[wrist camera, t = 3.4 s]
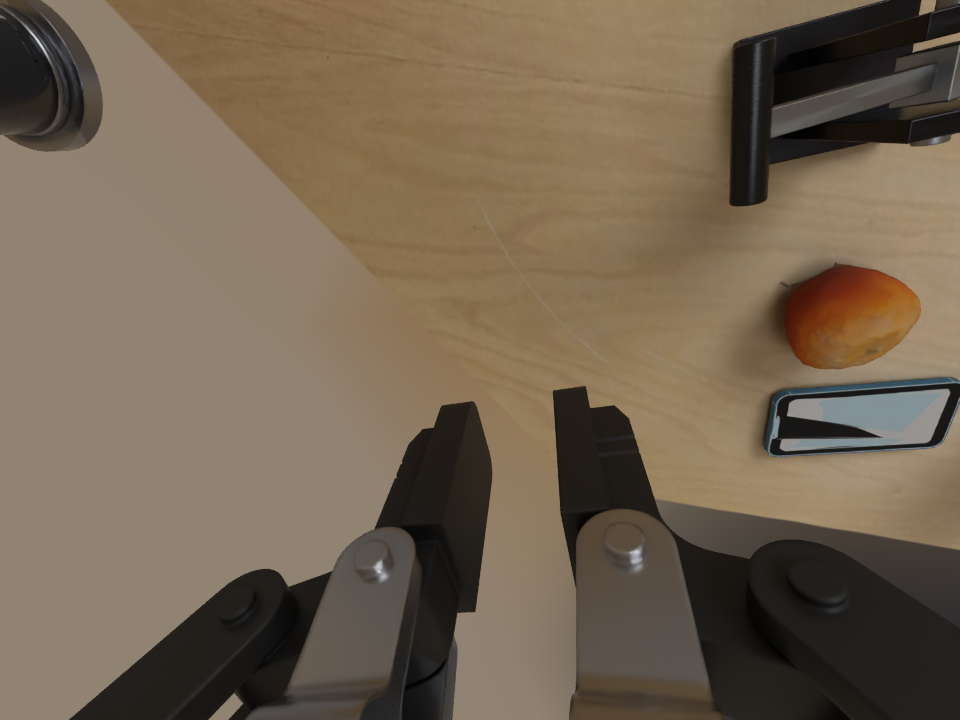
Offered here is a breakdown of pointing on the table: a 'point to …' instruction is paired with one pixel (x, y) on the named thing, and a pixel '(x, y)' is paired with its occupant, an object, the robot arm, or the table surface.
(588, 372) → the table surface
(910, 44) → the bracket
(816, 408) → the smartphone
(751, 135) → the lever
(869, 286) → the fruit
